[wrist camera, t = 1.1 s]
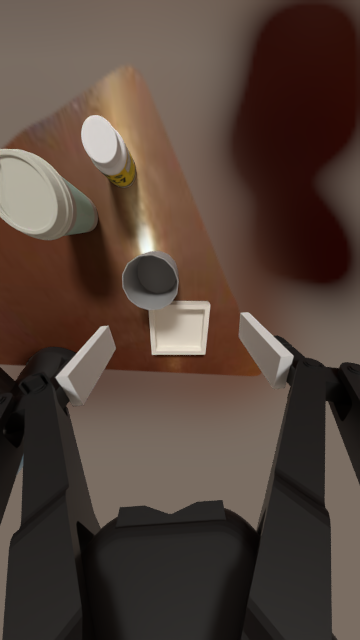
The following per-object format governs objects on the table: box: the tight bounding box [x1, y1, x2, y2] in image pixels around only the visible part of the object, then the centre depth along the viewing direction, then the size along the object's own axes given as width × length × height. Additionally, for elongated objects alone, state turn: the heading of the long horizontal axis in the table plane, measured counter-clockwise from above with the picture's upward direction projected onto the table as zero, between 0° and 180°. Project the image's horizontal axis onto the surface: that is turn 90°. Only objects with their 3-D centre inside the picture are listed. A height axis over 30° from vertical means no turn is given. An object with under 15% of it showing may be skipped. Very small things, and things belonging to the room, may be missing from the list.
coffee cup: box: [0, 149, 98, 240], centre depth 23 cm, size 9×8×12 cm
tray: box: [149, 301, 210, 355], centre depth 37 cm, size 13×13×2 cm
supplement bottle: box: [81, 115, 136, 188], centre depth 22 cm, size 5×5×8 cm
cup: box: [122, 251, 179, 310], centre depth 28 cm, size 8×8×10 cm
